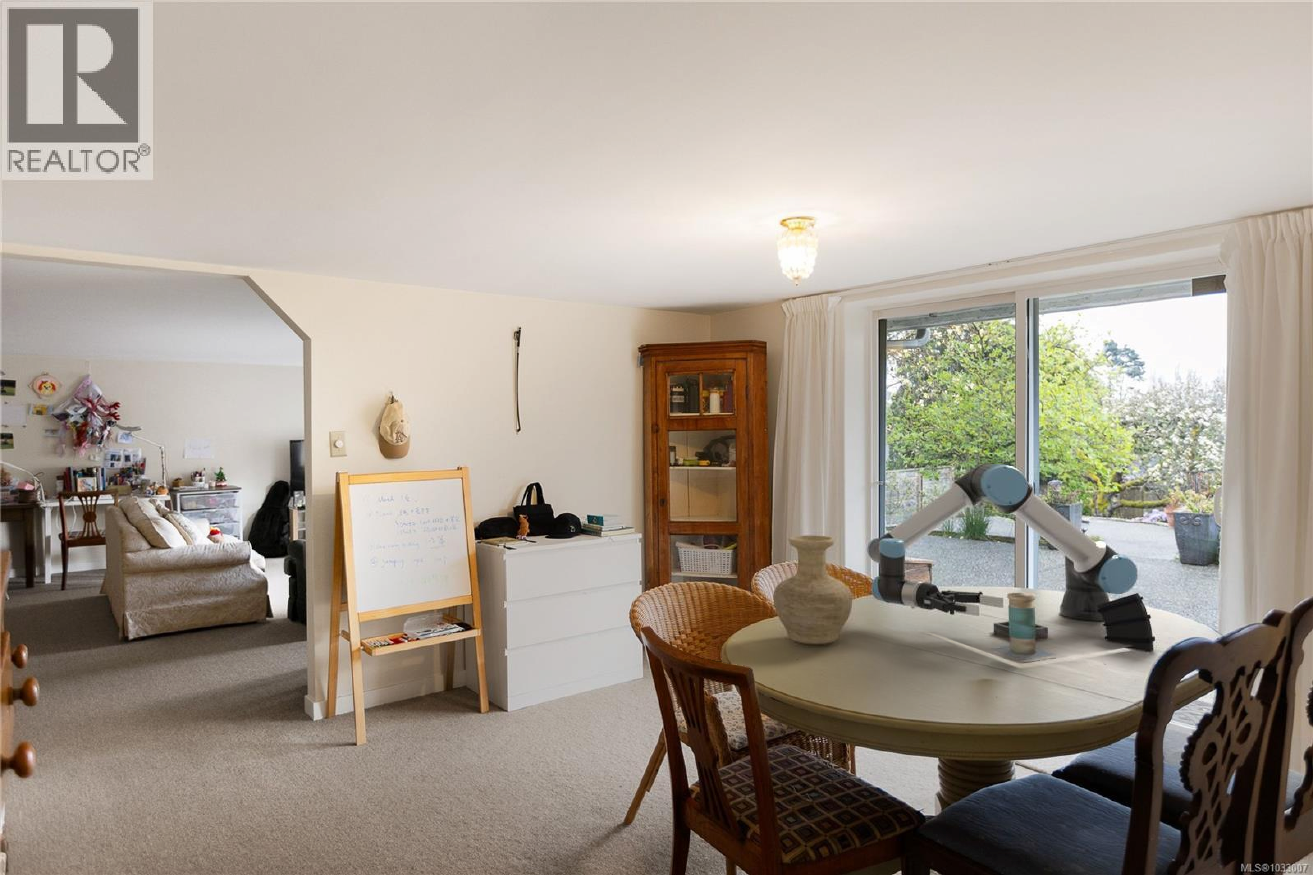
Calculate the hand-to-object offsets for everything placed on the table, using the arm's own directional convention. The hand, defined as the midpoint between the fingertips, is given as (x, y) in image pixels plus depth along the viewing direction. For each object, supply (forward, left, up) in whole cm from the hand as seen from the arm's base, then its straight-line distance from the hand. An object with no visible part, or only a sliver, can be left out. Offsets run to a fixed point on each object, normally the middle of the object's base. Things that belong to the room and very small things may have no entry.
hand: (991, 606), depth 215 cm
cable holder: (-14, -4, -12) cm, 19 cm away
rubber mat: (-3, +8, -12) cm, 14 cm away
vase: (+41, -26, -12) cm, 50 cm away
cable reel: (-3, +8, -11) cm, 14 cm away
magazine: (-34, +13, -12) cm, 39 cm away
